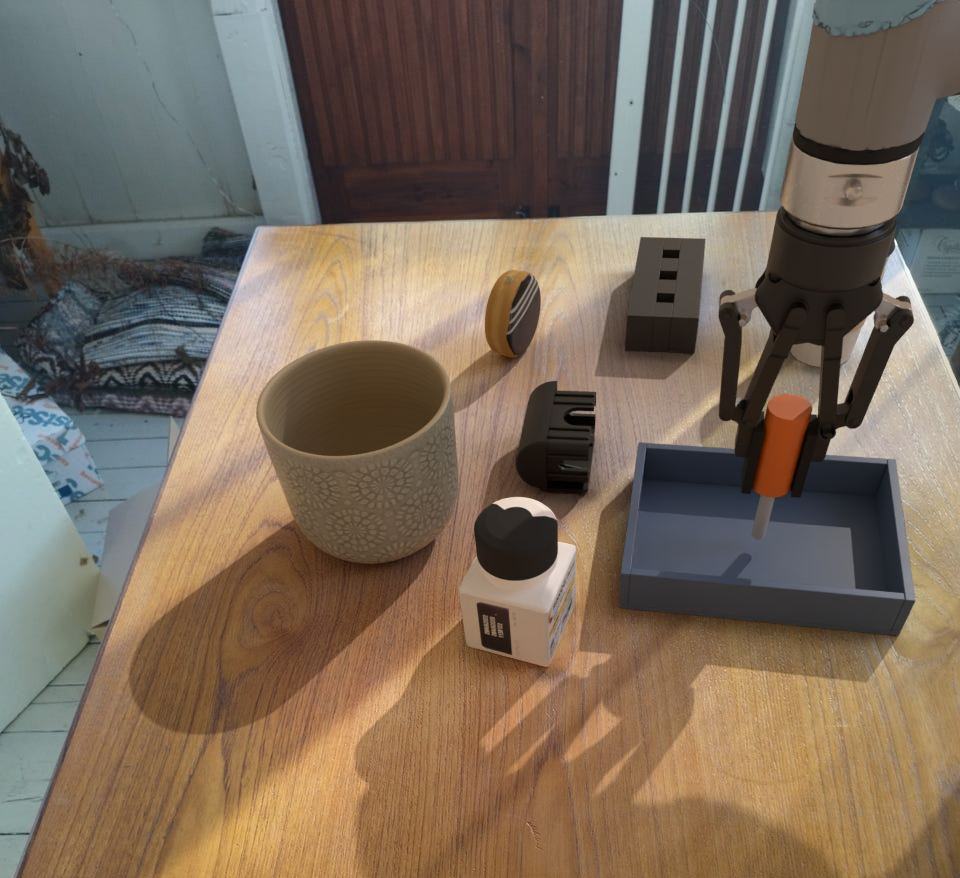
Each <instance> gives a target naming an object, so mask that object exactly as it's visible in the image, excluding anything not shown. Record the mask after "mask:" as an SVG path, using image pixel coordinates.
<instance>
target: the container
mask: <svg viewBox="0 0 960 878" xmlns="http://www.w3.org/2000/svg"><path fill="white" fill-rule="evenodd" d="M473 533H474V543H475V544H474V545H475V553H476V555H475V557H474V559H473V561H472V562H471V564H470V566H469V568H468V570H467V572H466V574H465V576H464V577H463V580H462V581H461V583H460V584H459V587H458V595H459V603H460V610H461V617H462V622H463V623H462V625H463V630H464V638H465V643H466V645H467V647H468V648H472V649H476V650H480V651H483V652H487V653H491V654H496V655H499V656H503V657H507V658H510V659H514V660H517V661H520V662H521V661H522V662H524V663H529V664H533V665H536V666H539V667H540V666H541V667H545V668H547V667H550V665H551V663H552V661H553V658H554V656H555V653H556V651H557V649H558V647H559V644H560V641H561V639H562V637H563V635H564V632H565V630H566V627H567V625H568V623H569V620H570V619H571V616H572V613H573V611H574V608H575V606H576V595H577V594H576V593H577V592H576V588H577V586H576V584H577V583H576V582H577V546H575V544H572V543H567V542H563V541H559V523H558V519H557V516H556V515H555V513H554V512H553V511H552V509H550V507H549V506H547V505H545V504H544V503H543V502H540V501H538V500H536V499H533V498H529V497H524V496H511V497H506V498H502V499H498V500H496V501H494V502H492V503H490V504H489V505H487V506H486V507H485V508H484V509H483V510H482V511H481V512H479V514H478V516H477V517H476V519H475V521H474V525H473Z"/></svg>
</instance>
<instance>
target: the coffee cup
mask: <svg viewBox="0 0 960 878" xmlns="http://www.w3.org/2000/svg"><path fill="white" fill-rule="evenodd" d="M895 238H896V233H894V236H893V239H892V242H891V246H890V249H889V252H888V256H887V259H886V262H885V266H884V269H883V272H882V276H881V282H882V281H883V278H884V276H885V273H886V266H887V264H888V262H889V259H890V256H891V255H892V254H893V253H894V251H895V249H896V242H895V240H896V239H895ZM866 320H867V318H865V319H864V320H863V321H862V322H861V323H859V324H858V325H857V326H856V327H855V328H854V329H852V330H851V331H850V332H849V333H848V334H846V335H845V336H844V337H843V347H842V358H841V364H840V365H842V364H844V363H846V362H847V361H849V359H850V357H851V356H852V353H853V350H854V348H855V346H856V343H857V340H858V339H859V335H860V333H861V331H862V327H863V326H864V325H865V323H866ZM821 347H822V346H818V345H814V344H811V343H803V344H797V345H793V346H792V348H791V350H790V353H791V355H792V356H793V357H794V358H795V359H796V360H797V361H799V362H800V363H803V364H805V365H808V366H811V367H816V368H820V365H821Z"/></svg>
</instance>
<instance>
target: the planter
mask: <svg viewBox="0 0 960 878" xmlns="http://www.w3.org/2000/svg"><path fill="white" fill-rule="evenodd" d="M255 415H256V416H255V417H256V421H257V425H258V428H259V431H260V435H261V437H262V440H263V443H264V445H265V448H266V452H267V453H268V456H269V460H270V461H271V464H272V467H273V469H274V471H275V474H276V476H277V479H278V481H279V484H280V487H281V489H282V492H283V495H284V498H285V501H286V503H287V505H288V509H289V511H290V512H291V515H292V517H293V519H294V521H295V523H296V525H297V527H298V528H299V530H300V531H301V532H302V534H303V535H304V536H305V537H306V538H307V540H309V542H311V543H312V544H313V545H314V546H315V547H316V548H318V549H319V550H320V551H322V552H324V553H326V554H327V555H329V556H332V557H334V558H337V559H339V560H342V561H346V562H350V563H355V564H356V563H357V564H365V565H371V564H372V565H373V564H383V563H389V562H390V563H391V562H395V561H397V560H400V559H404V558H406V557H408V556H411V555H413V554H415V553H417V552H420V551H421V550H423V549H424V548H425V547H427V546H428V545H430V544H431V543H432V542H433V541H434V540H435V539H437V537H438V536H439V535H440V534H441V533H442V532H443V530H444V529H445V528H446V527H447V525H448V523H449V522H450V520H451V518H452V516H453V513H454V511H455V508H456V505H457V501H458V495H459V463H458V452H457V439H456V438H457V436H456V423H455V409H454V399H453V391H452V384H451V380H450V377H449V374H448V373H447V370H446V369H445V368H444V366H443V365H442V364H441V362H440V361H438V359H436V358H435V357H434V356H432V355H431V354H430V353H428V352H425V351H424V350H422V349H420V348H417V347H415V346H413V345H409V344H407V343H406V344H405V343H401V342H396V341H392V340H391V341H390V340H380V339H379V340H376V339H375V340H374V339H373V340H372V339H367V340H366V339H365V340H364V339H363V340H353V341H345V342H341V343H336V344H332V345H328V346H325V347H321V348H319V349H316V350H313V351H311V352H309V353H306V354H304V355H302V356H300V357H298V358H296V359H294V360H292V361H290V363H288V364H287V365H285V366H284V367H282V368H281V369H279V370H278V371H277V372H276V373H275V374H274V375H273V376H272V377H271V378H270V379H269V380H268V382H267V383H266V384H265V386H264V387H263V389H262V391H261V392H260V394H259V396H258V399H257V402H256V407H255Z"/></svg>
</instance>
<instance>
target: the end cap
mask: <svg viewBox="0 0 960 878" xmlns="http://www.w3.org/2000/svg"><path fill="white" fill-rule="evenodd" d="M596 406H597V391H586V390H558V380H549V381H546V382H543V383H541V384H539V385H537V386H536V387H535V388H534V389H533V390H532V391H531V393H530V395H529V398H528V400H527V405H526V410H525V414H524V420H523V424H522V427H521V429H522V430H521V433H520V438H519V442H518V447H517V452H516V456H515V470H516V473H517V474H518V476H519V477H520V479H521V480H522V481H523V482H524V483H526V484H527V485H529V486H530V487H532V488H535V489H538V490H540V491H541V492H545V493H549V494H565V495H566V494H568V495H585V494H587V493H588V491H589V485H590V478H591V471H592V461H593V454H594V447H595V437H596V436H595V434H596V419H597V415H596V413H578V412H595V407H596ZM575 412H577V413H575Z"/></svg>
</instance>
